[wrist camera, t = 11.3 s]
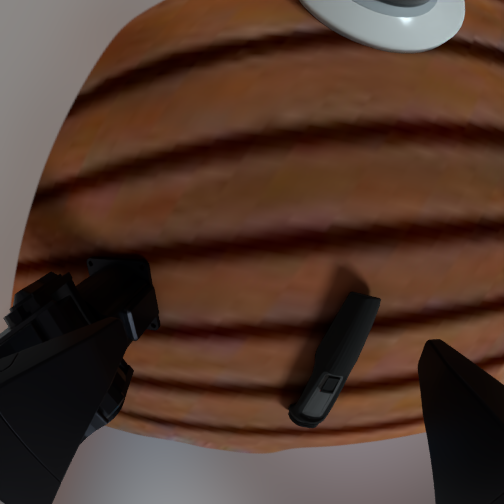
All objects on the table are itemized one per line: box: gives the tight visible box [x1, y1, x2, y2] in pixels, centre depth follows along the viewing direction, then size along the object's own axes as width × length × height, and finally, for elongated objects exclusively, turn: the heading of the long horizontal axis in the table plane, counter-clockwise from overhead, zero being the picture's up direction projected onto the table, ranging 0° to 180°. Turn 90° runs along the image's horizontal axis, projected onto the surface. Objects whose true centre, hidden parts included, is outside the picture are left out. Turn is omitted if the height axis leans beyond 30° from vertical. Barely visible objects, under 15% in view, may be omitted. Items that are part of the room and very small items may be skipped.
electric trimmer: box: [288, 292, 381, 428], centre depth 22 cm, size 4×16×3 cm, turn 168°
